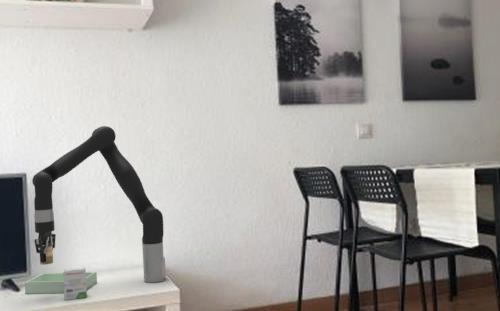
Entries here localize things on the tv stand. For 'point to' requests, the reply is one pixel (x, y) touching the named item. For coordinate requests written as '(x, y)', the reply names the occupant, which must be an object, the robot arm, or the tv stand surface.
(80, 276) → the ink box
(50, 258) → the beech cylinder
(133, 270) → the tv stand surface
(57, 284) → the tote
